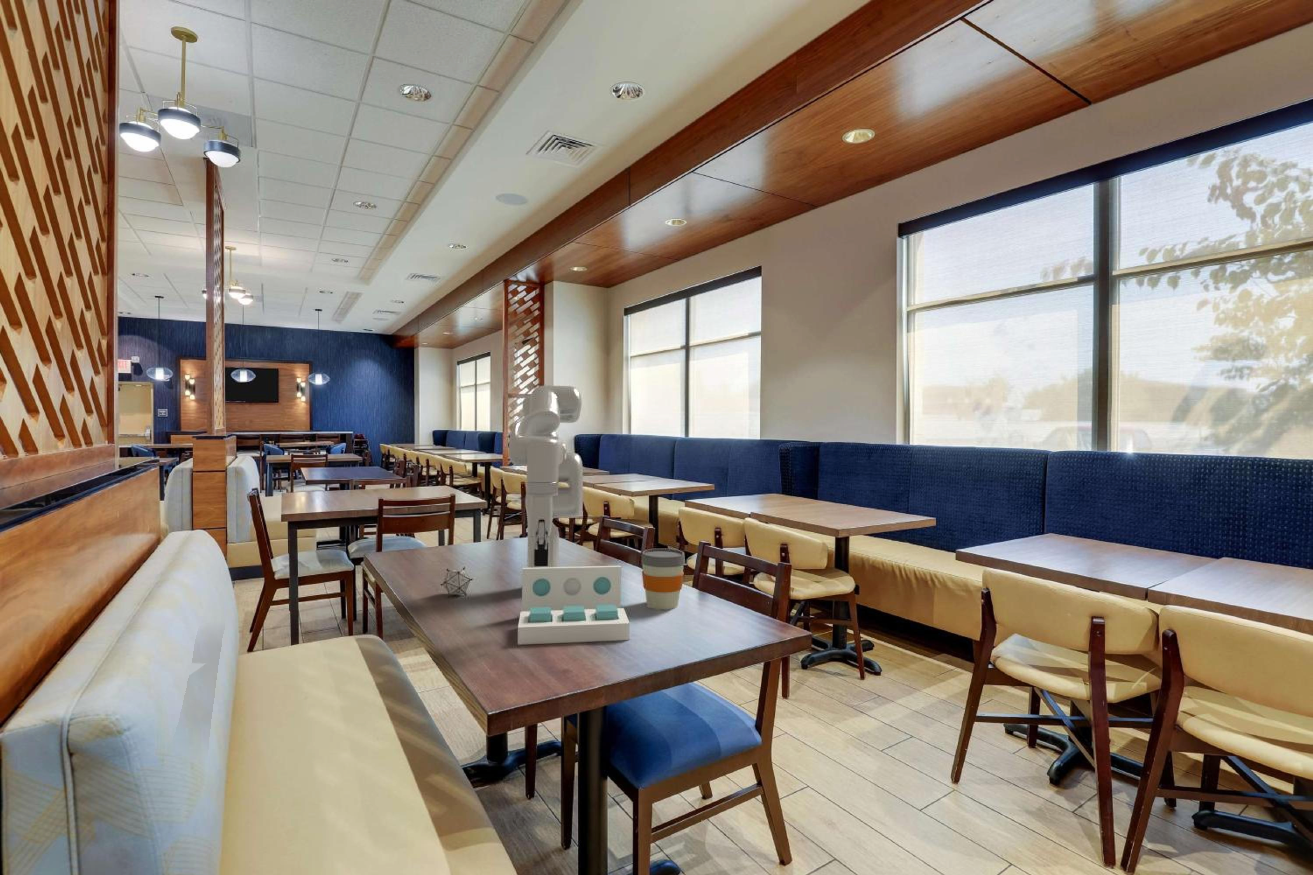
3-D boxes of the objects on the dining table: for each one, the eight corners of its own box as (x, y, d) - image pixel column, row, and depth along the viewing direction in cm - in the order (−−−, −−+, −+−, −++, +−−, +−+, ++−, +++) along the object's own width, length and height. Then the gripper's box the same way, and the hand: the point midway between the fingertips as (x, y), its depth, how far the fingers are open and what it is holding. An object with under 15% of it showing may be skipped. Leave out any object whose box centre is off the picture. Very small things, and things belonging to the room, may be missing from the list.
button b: (563, 619, 150) (563, 606, 150) (583, 619, 151) (583, 605, 151) (563, 626, 146) (563, 612, 145) (584, 625, 146) (584, 611, 146)
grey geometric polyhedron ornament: (460, 609, 178) (465, 587, 173) (433, 598, 178) (437, 576, 173) (474, 587, 186) (479, 565, 180) (448, 577, 186) (452, 555, 180)
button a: (530, 621, 149) (530, 607, 149) (550, 620, 150) (551, 606, 150) (529, 627, 144) (529, 613, 144) (550, 627, 145) (551, 612, 145)
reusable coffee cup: (650, 613, 165) (651, 558, 165) (633, 600, 177) (634, 549, 177) (691, 608, 170) (692, 555, 170) (672, 596, 182) (673, 547, 182)
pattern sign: (522, 613, 163) (523, 565, 163) (618, 610, 167) (619, 563, 167) (521, 620, 157) (522, 571, 157) (621, 617, 162) (622, 568, 161)
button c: (595, 618, 152) (595, 605, 152) (615, 618, 153) (615, 604, 153) (596, 625, 147) (597, 611, 147) (617, 624, 148) (617, 610, 148)
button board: (520, 627, 152) (520, 611, 152) (623, 623, 157) (623, 608, 157) (517, 644, 140) (518, 627, 140) (629, 639, 145) (629, 623, 145)
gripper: (527, 485, 154) (526, 555, 155) (524, 492, 137) (523, 571, 138) (557, 485, 156) (556, 554, 156) (558, 492, 139) (557, 570, 139)
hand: (541, 561), depth 147 cm, fingers open, 6 cm apart
